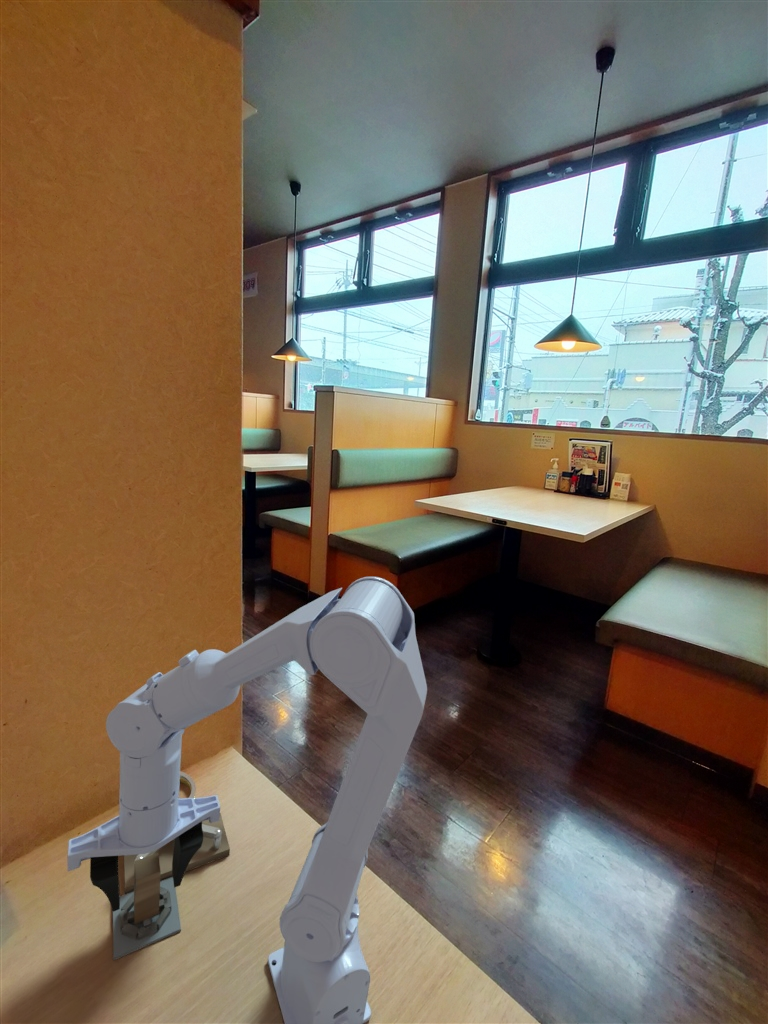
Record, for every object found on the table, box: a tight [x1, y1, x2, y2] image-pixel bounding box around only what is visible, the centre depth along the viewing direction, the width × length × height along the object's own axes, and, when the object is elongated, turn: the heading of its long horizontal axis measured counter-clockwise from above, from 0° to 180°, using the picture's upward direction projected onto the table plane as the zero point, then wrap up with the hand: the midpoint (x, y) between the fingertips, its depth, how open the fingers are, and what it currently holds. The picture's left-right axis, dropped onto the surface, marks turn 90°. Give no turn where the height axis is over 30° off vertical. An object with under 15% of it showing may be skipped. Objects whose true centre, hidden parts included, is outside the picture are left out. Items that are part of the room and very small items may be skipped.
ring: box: [180, 770, 197, 798], centre depth 67 cm, size 7×3×8 cm
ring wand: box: [120, 853, 172, 940], centre depth 51 cm, size 5×5×7 cm
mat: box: [112, 877, 182, 961], centre depth 52 cm, size 6×6×1 cm
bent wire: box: [134, 824, 222, 864], centre depth 59 cm, size 5×10×4 cm, turn 121°
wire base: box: [123, 812, 231, 895], centre depth 59 cm, size 6×12×1 cm, turn 121°
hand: (147, 889), depth 51 cm, fingers open, 5 cm apart
